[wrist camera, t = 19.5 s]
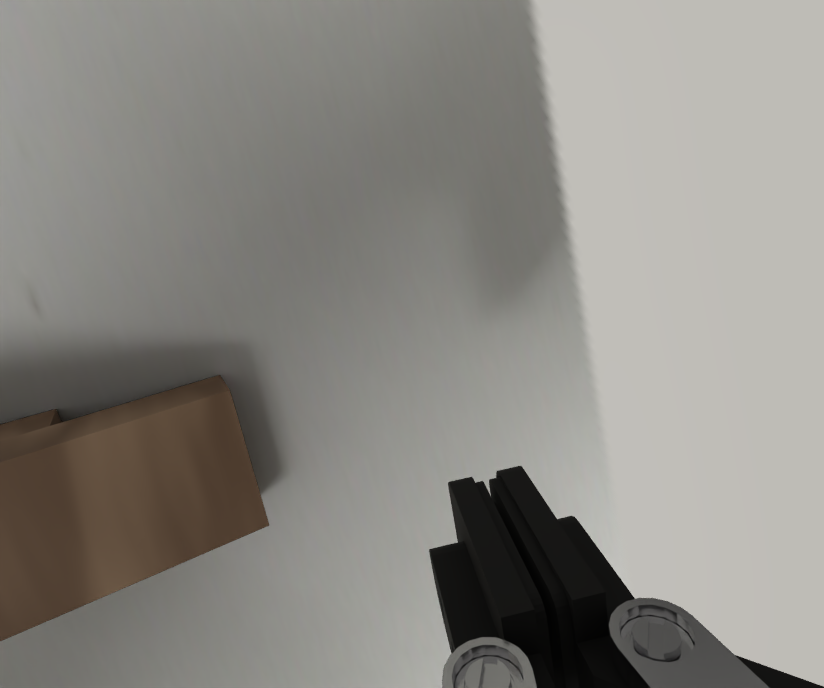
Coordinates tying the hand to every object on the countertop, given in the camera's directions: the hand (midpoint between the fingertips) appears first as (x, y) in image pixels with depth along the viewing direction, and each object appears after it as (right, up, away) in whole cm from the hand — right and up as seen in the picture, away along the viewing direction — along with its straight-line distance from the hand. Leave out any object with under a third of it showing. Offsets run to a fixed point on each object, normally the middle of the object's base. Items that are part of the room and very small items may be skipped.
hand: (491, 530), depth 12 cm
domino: (-8, +1, +6) cm, 10 cm away
